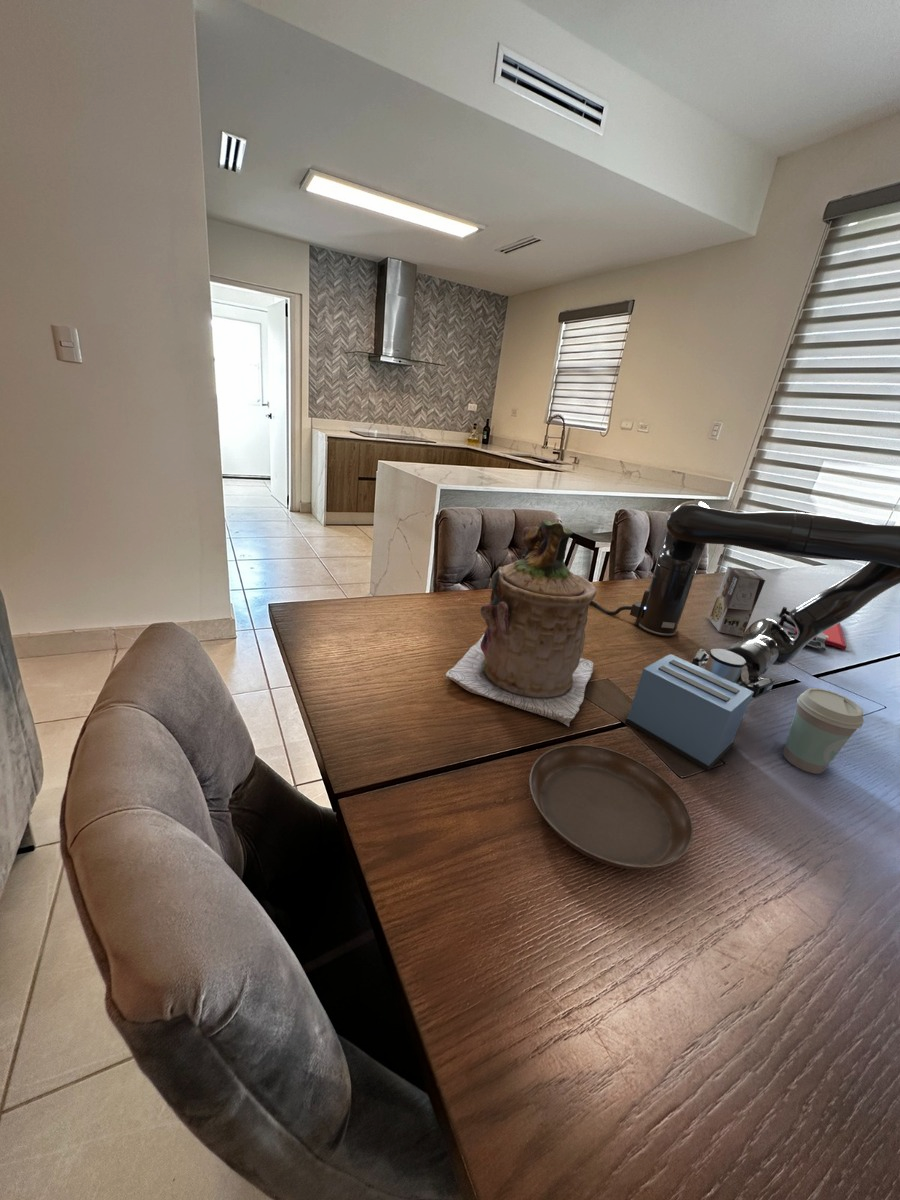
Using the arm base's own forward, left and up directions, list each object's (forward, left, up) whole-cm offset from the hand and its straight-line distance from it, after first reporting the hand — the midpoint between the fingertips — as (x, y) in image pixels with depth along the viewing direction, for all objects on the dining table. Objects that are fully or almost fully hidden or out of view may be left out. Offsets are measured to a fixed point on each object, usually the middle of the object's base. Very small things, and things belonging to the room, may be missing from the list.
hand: (713, 684), depth 85 cm
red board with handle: (+1, +72, -7) cm, 73 cm away
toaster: (0, -10, -7) cm, 12 cm away
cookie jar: (-27, -20, -7) cm, 34 cm away
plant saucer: (+2, -37, -7) cm, 37 cm away
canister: (0, +2, -7) cm, 7 cm away
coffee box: (-14, +50, -7) cm, 53 cm away
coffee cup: (+16, +2, -7) cm, 18 cm away
